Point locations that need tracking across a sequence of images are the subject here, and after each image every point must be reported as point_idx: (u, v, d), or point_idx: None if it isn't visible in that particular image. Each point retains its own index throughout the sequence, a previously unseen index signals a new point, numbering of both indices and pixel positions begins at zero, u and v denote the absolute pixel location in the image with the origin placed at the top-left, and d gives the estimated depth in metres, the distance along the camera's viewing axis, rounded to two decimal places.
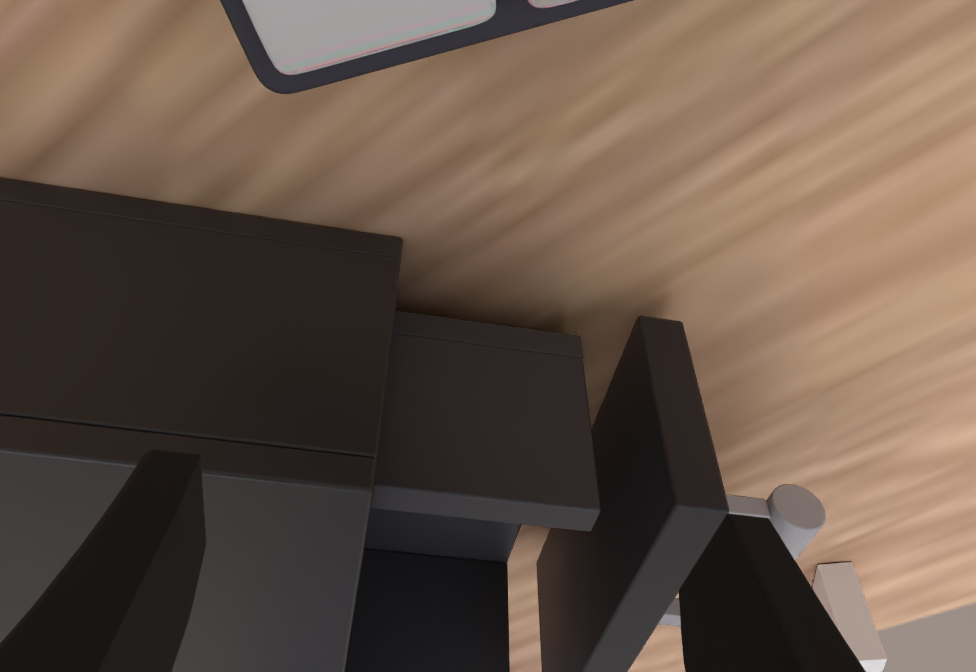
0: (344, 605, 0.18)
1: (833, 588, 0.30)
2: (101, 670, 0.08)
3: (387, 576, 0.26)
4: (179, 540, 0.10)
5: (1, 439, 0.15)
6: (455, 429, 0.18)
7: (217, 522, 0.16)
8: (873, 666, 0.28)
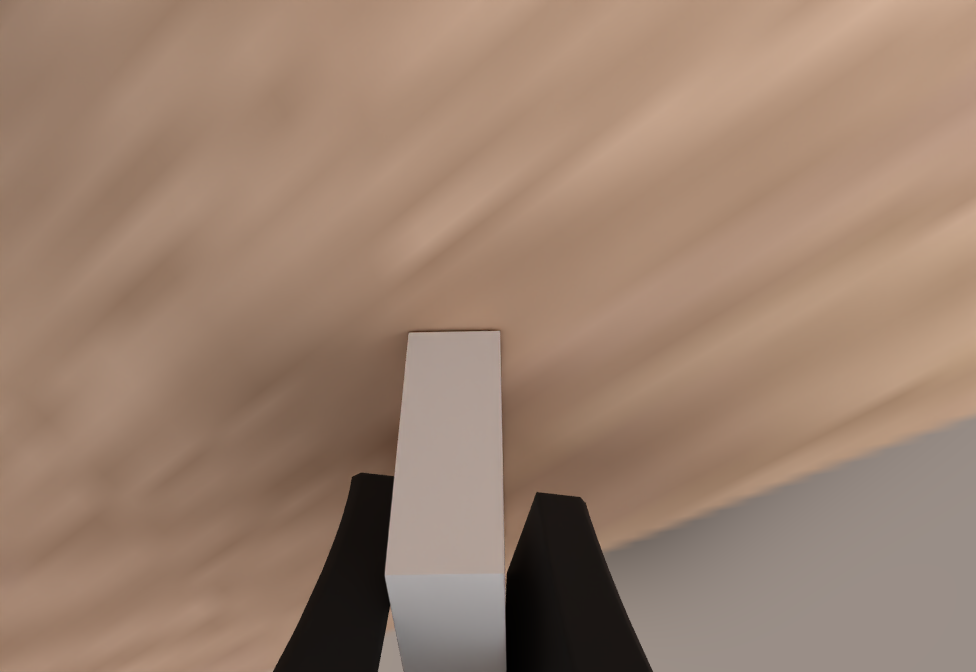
0: None
1: (424, 386, 0.11)
2: None
3: None
4: None
5: None
6: None
7: None
8: (471, 598, 0.09)
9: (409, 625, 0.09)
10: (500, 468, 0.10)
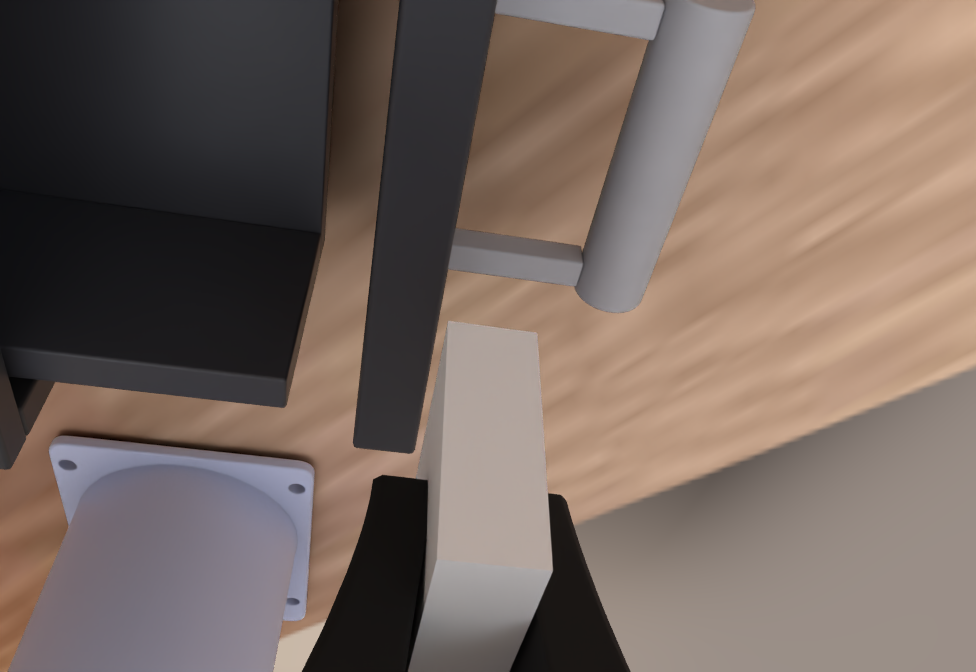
0: None
1: (467, 375, 0.11)
2: None
3: (132, 233, 0.18)
4: None
5: None
6: None
7: None
8: (511, 591, 0.09)
9: (438, 611, 0.09)
10: (544, 467, 0.10)
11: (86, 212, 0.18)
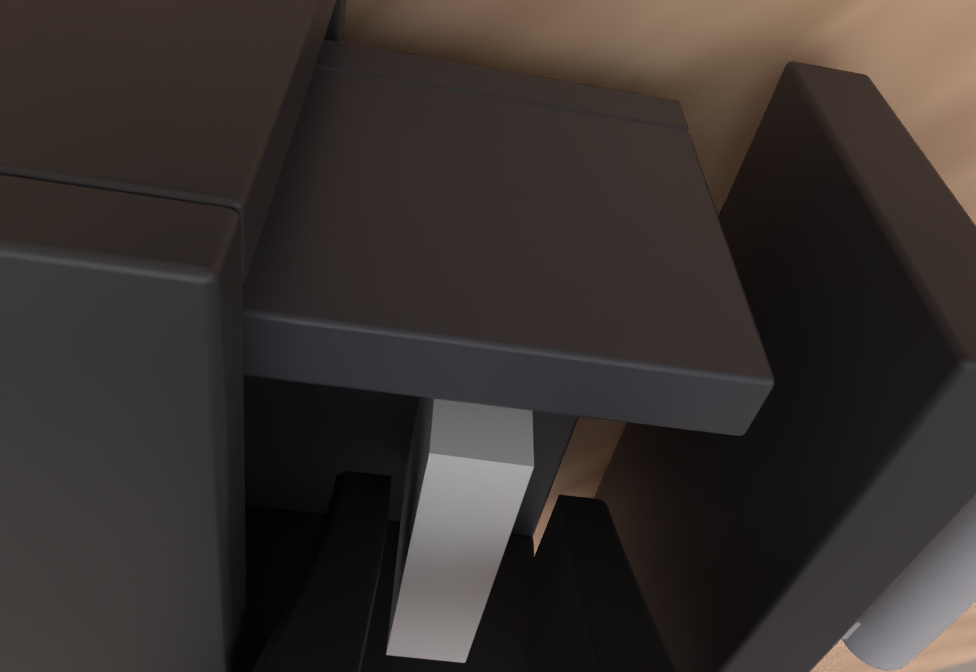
0: (206, 602, 0.08)
1: None
2: None
3: None
4: (380, 560, 0.11)
5: None
6: (444, 220, 0.09)
7: None
8: (496, 487, 0.10)
9: (431, 507, 0.10)
10: None
11: (286, 528, 0.16)
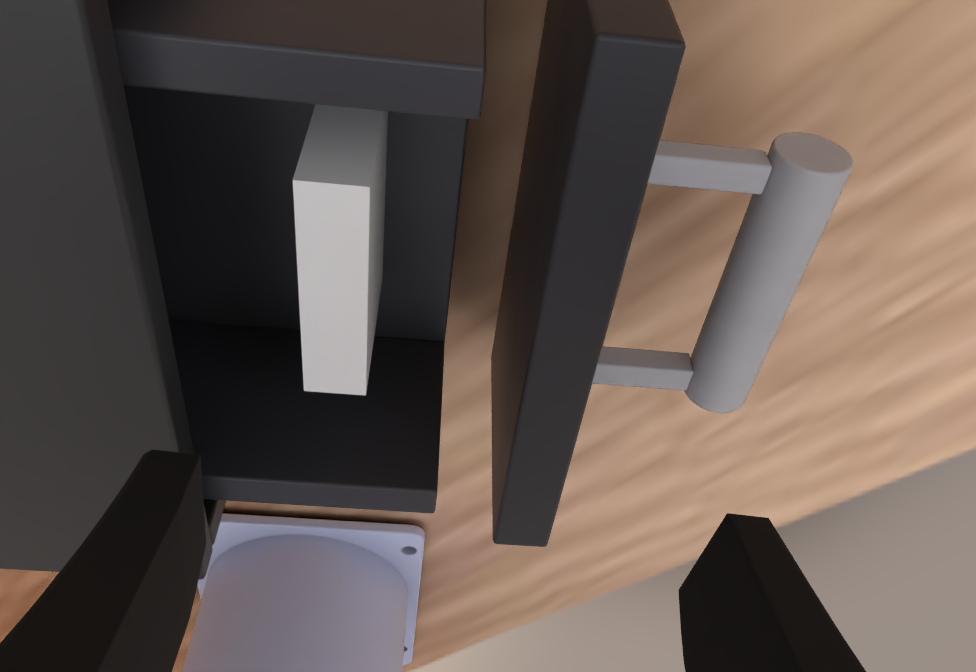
0: (119, 252, 0.12)
1: None
2: (101, 670, 0.08)
3: (282, 355, 0.20)
4: (179, 540, 0.10)
5: None
6: None
7: None
8: (347, 209, 0.14)
9: (304, 232, 0.14)
10: (376, 143, 0.14)
11: (239, 336, 0.20)
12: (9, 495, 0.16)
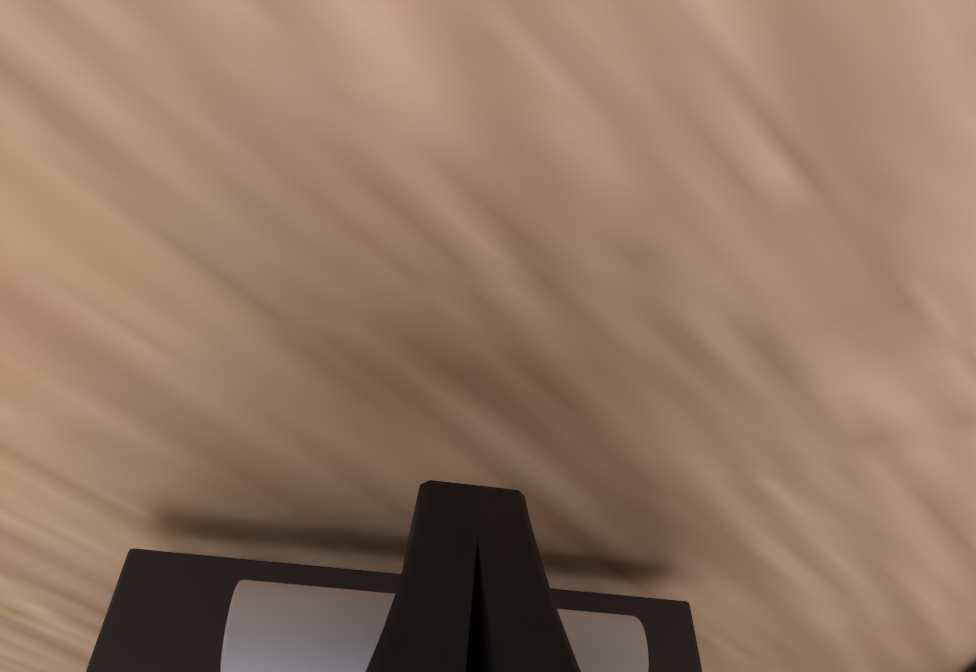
0: None
1: None
2: None
3: None
4: None
5: None
6: None
7: None
8: None
9: None
10: None
11: None
12: None
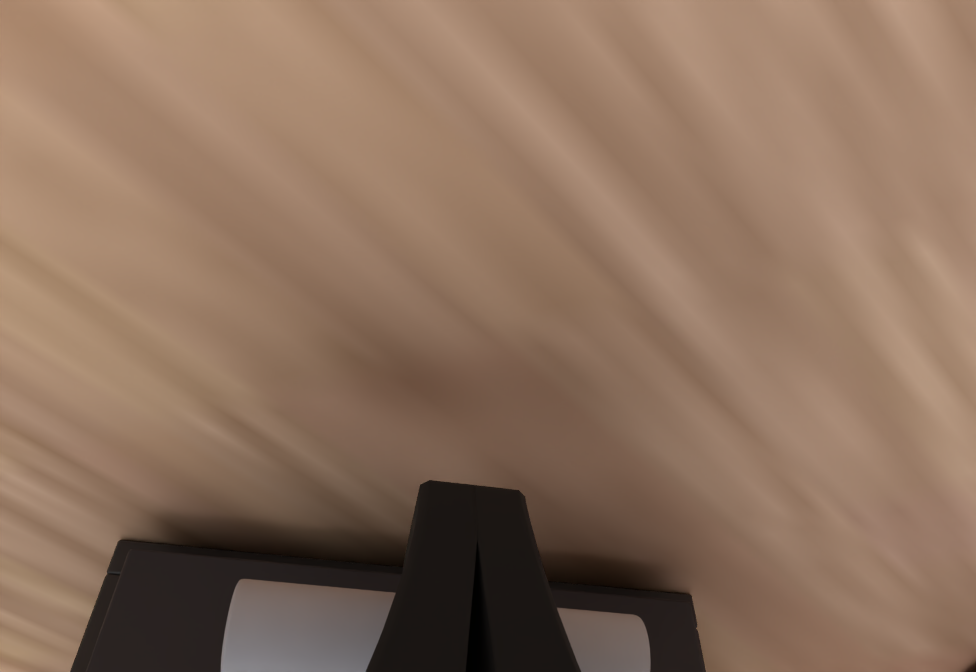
0: None
1: None
2: None
3: None
4: None
5: None
6: None
7: None
8: None
9: None
10: None
11: None
12: None
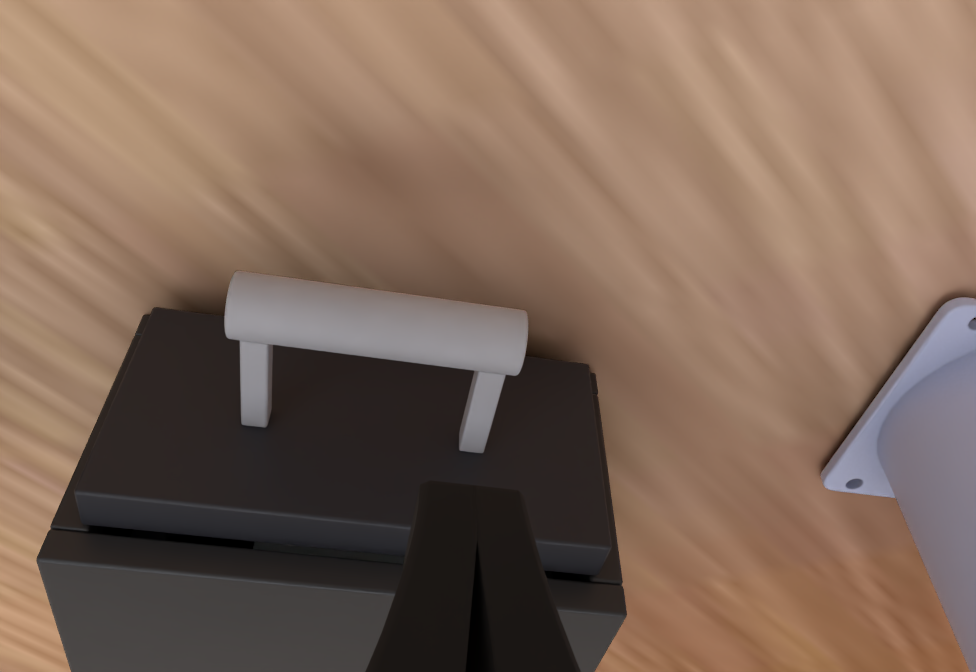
0: (236, 584, 0.18)
1: None
2: None
3: None
4: None
5: None
6: None
7: (122, 632, 0.19)
8: None
9: None
10: None
11: None
12: None
